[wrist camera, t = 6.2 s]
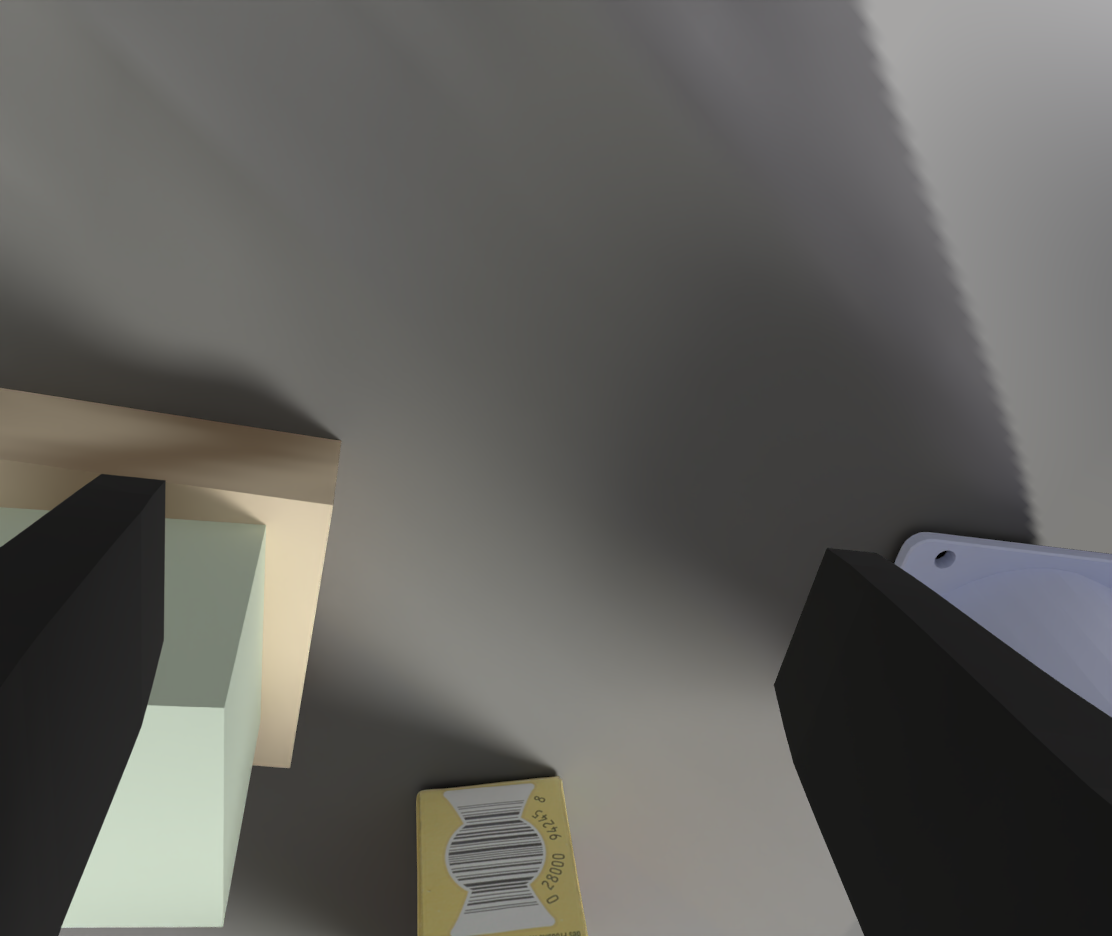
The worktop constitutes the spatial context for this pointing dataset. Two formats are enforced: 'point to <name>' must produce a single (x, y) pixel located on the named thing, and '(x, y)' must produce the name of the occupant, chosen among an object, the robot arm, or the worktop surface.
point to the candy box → (497, 861)
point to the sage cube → (184, 738)
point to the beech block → (197, 507)
